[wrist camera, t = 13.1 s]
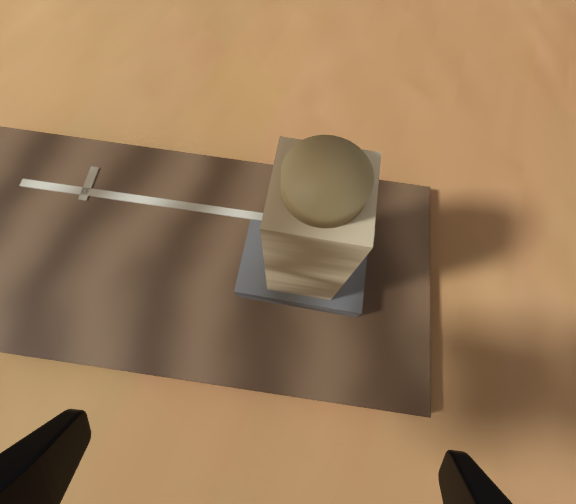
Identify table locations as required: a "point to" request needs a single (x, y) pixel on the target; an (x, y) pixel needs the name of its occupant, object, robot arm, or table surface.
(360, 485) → the table surface
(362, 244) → the cube with dome top
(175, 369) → the walnut board
